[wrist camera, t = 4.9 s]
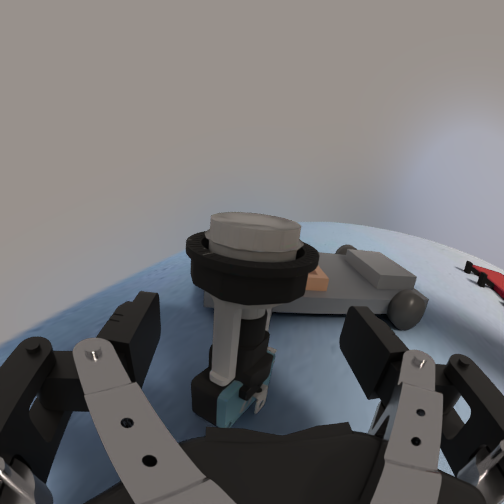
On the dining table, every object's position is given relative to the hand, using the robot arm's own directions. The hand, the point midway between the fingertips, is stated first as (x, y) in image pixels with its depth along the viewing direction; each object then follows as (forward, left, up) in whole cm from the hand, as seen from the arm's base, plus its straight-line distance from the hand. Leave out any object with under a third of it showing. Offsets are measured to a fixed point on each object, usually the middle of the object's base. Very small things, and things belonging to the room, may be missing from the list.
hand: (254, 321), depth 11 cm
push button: (0, -2, -6) cm, 6 cm away
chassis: (-8, -17, -6) cm, 20 cm away
